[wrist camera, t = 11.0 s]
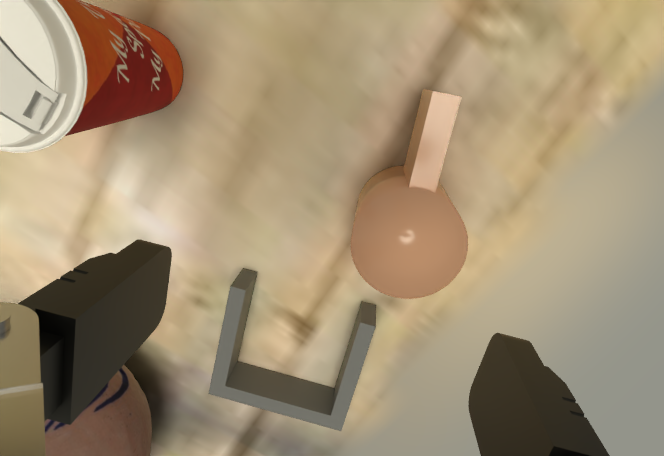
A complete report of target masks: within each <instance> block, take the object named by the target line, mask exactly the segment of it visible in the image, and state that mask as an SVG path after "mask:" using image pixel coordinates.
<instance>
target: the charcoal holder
mask: <svg viewBox="0 0 664 456" xmlns="http://www.w3.org/2000/svg"><path fill="white" fill-rule="evenodd" d="M256 276H257V272H255V271H251V270H248V269H244V268H243V270H242V271H241V272H240V274H239V275H238V277H237V278H236V279H235V281H234V282H233V283H232V285H231V286H230V291H229V296H228V301H227V306H226V311H225V316H224V321H223V325H222V330H221V335H220V340H219V345H218V350H217V355H216V360H215V365H214V370H213V374H212V379H211V384H210V389H209V394H211V395H215V396H218V397H222V398H225V399H229V400H232V401H236V402H239V403H243V404H247V405H250V406H254V407H257V408H261V409H264V410H268V411H271V412H275V413H278V414H282V415H286V416H289V417H293V418H296V419H300V420H303V421H307V422H310V423H314V424H317V425H321V426H324V427H328V428H332V429H335V430H339V431H341V430H342V427H343V424H344V421H345V418H346V415H347V412H348V409H349V406H350V403H351V400H352V397H353V394H354V391H355V388H356V385H357V382H358V379H359V376H360V372H361V369H362V366H363V363H364V360H365V357H366V354H367V351H368V348H369V345H370V342H371V339H372V336H373V333H374V330H375V327H376V305H373V304H370V303H366V302H363V301H362V302H361V306H360V309H359V312H358V315H357V318H356V322H355V325H354V328H353V331H352V334H351V338H350V341H349V344H348V347H347V351H346V354H345V357H344V360H343V363H342V367H341V370H340V373H339V376H338V379H337V383H336V386H335V389H334V388H331V387H327V386H324V385H320V384H316V383H313V382H309V381H306V380H302V379H299V378H295V377H292V376H288V375H284V374H281V373H277V372H274V371H270V370H267V369H263V368H260V367H256V366H252V365H249V364H245V363H242V362H238V357H239V352H240V348H241V343H242V339H243V334H244V330H245V325H246V321H247V316H248V312H249V307H250V303H251V298H252V294H253V289H254V285H255V280H256Z"/></svg>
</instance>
